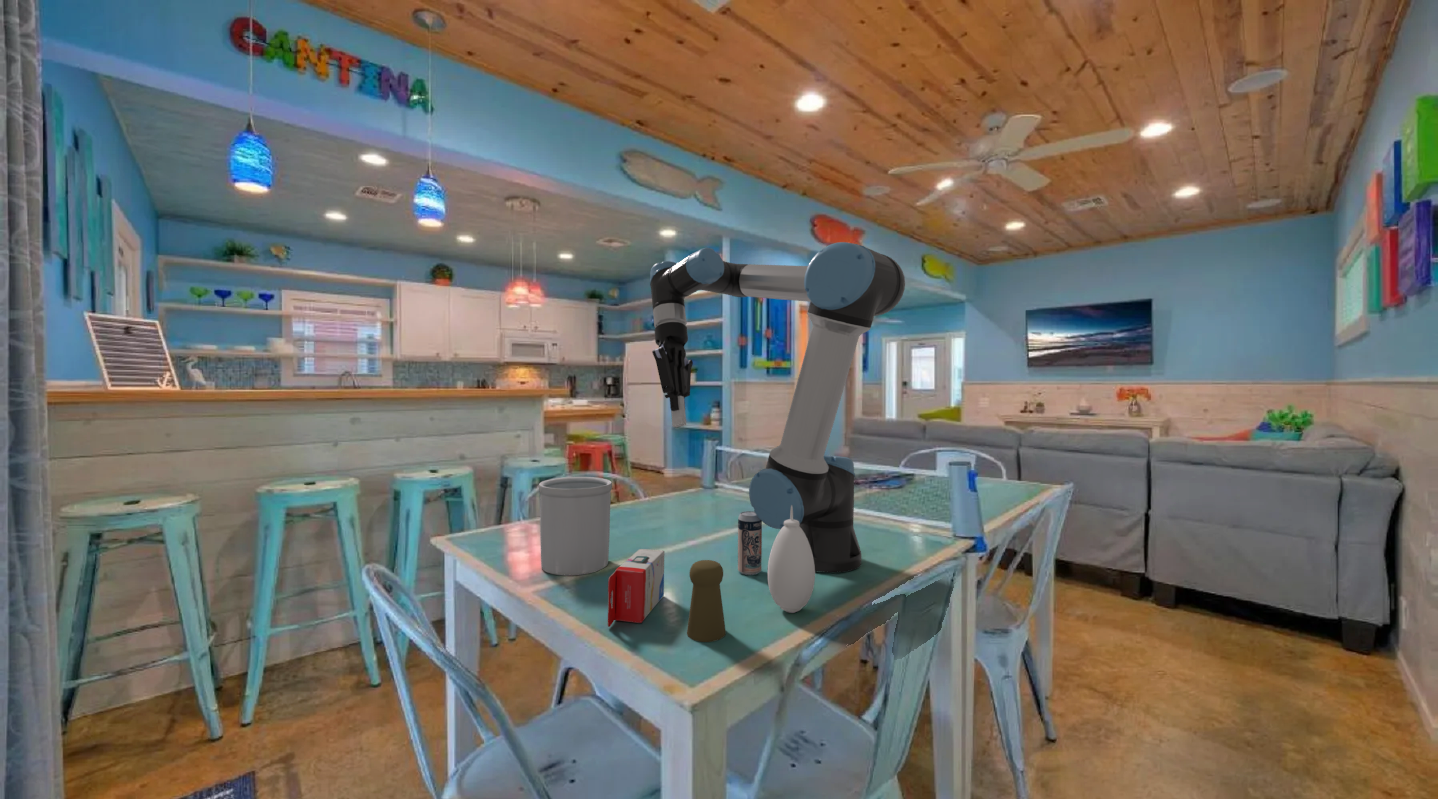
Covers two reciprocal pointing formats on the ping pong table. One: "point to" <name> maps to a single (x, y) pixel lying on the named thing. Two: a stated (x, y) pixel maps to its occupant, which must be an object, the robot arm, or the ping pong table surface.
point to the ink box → (636, 586)
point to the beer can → (749, 543)
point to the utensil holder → (574, 524)
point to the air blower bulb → (791, 567)
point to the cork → (706, 602)
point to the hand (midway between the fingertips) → (679, 425)
